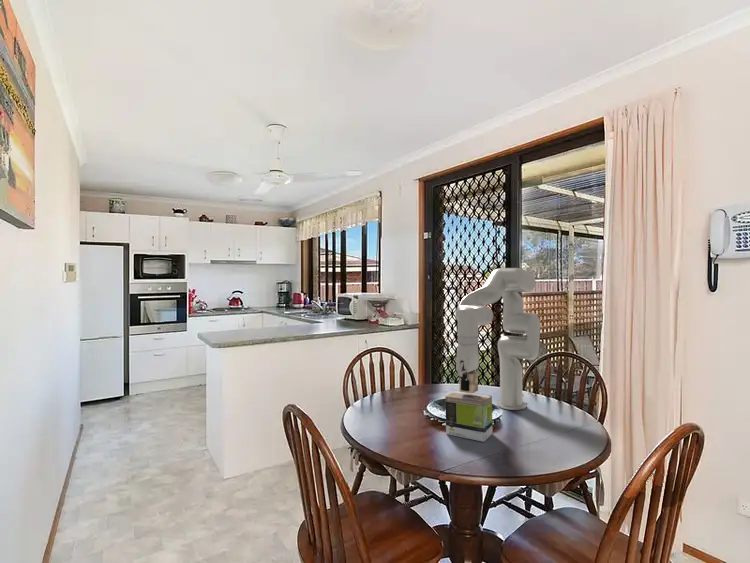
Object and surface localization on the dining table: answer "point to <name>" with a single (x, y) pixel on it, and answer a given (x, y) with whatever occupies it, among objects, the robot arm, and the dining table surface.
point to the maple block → (471, 382)
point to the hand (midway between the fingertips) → (468, 388)
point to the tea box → (469, 415)
